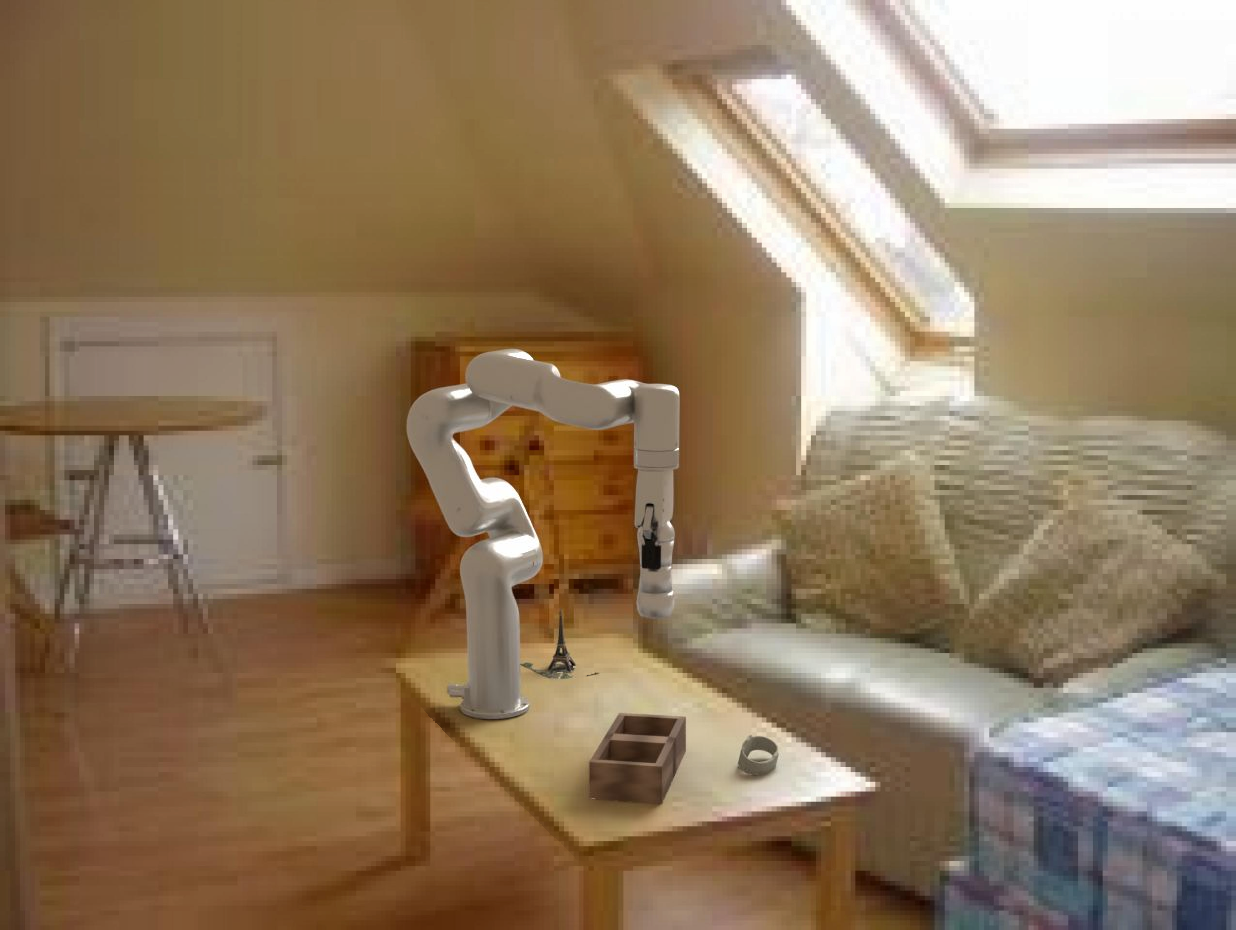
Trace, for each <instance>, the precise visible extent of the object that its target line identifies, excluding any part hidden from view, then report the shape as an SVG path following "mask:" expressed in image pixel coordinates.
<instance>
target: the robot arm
mask: <svg viewBox="0 0 1236 930" xmlns="http://www.w3.org/2000/svg"><path fill="white" fill-rule="evenodd" d="M464 377H465V382H466V383H462V384H456V385H449V386H444V387H438V388H434V389H431V390H429V391H426V392H425V393H423V394H422V395H420V396H418V398H417V399H416V400H414V402H413V404H412V405H411V406H410V409H409V411H408V414H407V419H406V434H407V439H408V442H409V445H410V447H411V450H412V452H413V453H414V455H415V457H416V459H417V461H418V463H419V465H420V466H421V468H422V469H423V472H424V474H425V476H426V478H427V480H428V483H429V486H430V488H431V491H432V493H433V495H434V497H435V499H436V501H437V504H438V506H439V508H440V510H441V512H442V515H443V517H444V520H445V522H446V523H447V525H448V528H449V529H450V531H451V532H452V533H454V535H456V536H457V537H460V538H461V537H462V538H468V537H474V536H478V535H481V534H485V533H487V535H488V537H489V538H485V539H483V540H480V541H478V542H475V544H473V545H472V546H470V547H469V548H468V549H467V550H466V551H465V552H464V554H463V555H462V558H461V560H460V565H459V574H460V582H461V585H462V589H463V594H464V599H465V600H464V601H465V611H466V617H465V618H466V635H467V636H466V639H467V641H466V642H467V643H466V644H467V669H468V670H467V671H468V672H467V673H468V674H467V675H468V677H467V679H468V682H465V683H464V684H459V683H448V684H447V687H446V691H447V692H446V693H447V694H448V695H449V697H450V698H461V699H462V700H461V702H460V711H461V712H462V714H464V715H466V716H467V717H471V718H475V719H482V720H483V719H484V720H499V719H501V720H502V719H503V720H504V719H509V718H514V717H517V716H520V715H523V714H525V713H526V712H528V710H529V709H530V703H531V702H530V700H529V699H528V697H526V696H525V695H522V685H521V684H522V683H521V674H522V673H521V640H520V639H521V637H520V636H521V632H520V629H521V628H520V626H521V625H520V613H519V611H520V610H519V607H518V604H517V600H516V599H515V596H514V595H515V594H514V593H513V589H512V588H513V587H514V586H516V585H518V584H521V583H523V582H526V581H528V580H531V579H532V578H534V577H535V576H536V575H537V574H538V573H539V572H540V570H541V569H542V566H543V562H544V561H543V560H544V556H543V550H542V545H541V542H540V540H539V537H538V535H537V533H536V529H534V525H533V524H532V522H531V519H530V517H529V515H528V513H527V510H526V508H525V506H524V503H523V501H522V499H521V497H520V495H519V493H518V492H517V491H516V489H515V488H514V487H513V486H512V485H511V484H510V483H509V482H508V481H506V480H504V479H503V478H498V477H485V478H483V479H480V477H479V475H478V473H477V472H476V470H475V469H476V468H475V466H474V465H473V462H472V460H471V458H470V456H469V455H468V453H467V452H466V450H465V449H464V448H463V447H462V445H460V444H459V443H458V442H457V441H456V440H455V439H454V437H453V436H454V434H456V433H457V434H458V433H462V432H466V431H471V430H476V429H480V428H482V427H485V426H487V425H488V424H490V423H491V422H493V421H494V420H496V419H497V418H498V417H500V416H501V415H502V414H503V413H505V412H506V411H507V410H508V409H510V408H511V407H518V408H521V409H527V410H531V411H535V412H540V413H541V414H542V415H543V416H544V417H547V418H549V419H550V420H552V421H554V422H558V423H559V424H560V423H561V424H564V425H568V426H574V427H578V428H582V429H587V430H597V431H599V430H600V431H601V430H606V429H611V428H614V427H618V426H623V425H628V424H633V468H634V469H636V470H637V475H636V487H635V503H634V505H635V506H634V527H635V528H637V529H639V528H640V527H641V526H642V524H643V535H642V568H644V569H660V568H661V545H659V542H660V530H661V528H663V527H664V526H665V525H666V524H667V522H668V520H669V521H671V520H672V519H673V513H674V470H677V469H680V468H679V467H680V408H681V407H680V404H681V403H680V397H681V396H680V391H679V389H678V388H677V387H676V386H674V385H672V384H666V383H665V384H664V383H644V382H641V381H637V380H633V379H617V380H610V381H606V382H601V383H597V384H591V383H585V382H579V381H574V380H570V379H565V378H563V377H561V373H560V370H558V368H557V366H556V365H554V364H553V363H549V362H544V361H539V360H534V358H533V357H532V356H531V355H530V354H529V353H527V352H526V351H524V350H522V349H518V348H507V349H500V350H493V351H487V352H483V353H481V354H478V355H476V356H475V357H474V358H473V359H471V360H470V361H469V363H468V365H467V367H466V369H465V375H464ZM652 524H657V527H652ZM652 531H656V537H655V534H654V532H652Z"/></svg>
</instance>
